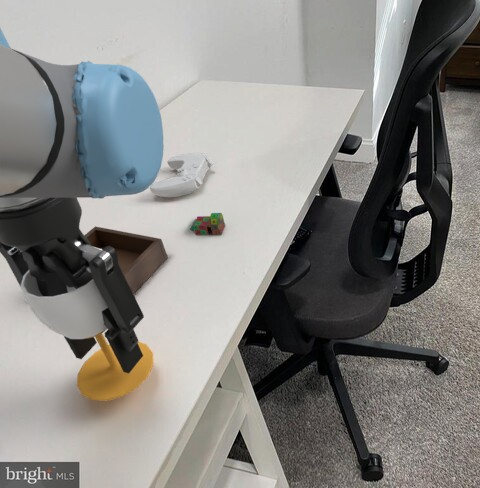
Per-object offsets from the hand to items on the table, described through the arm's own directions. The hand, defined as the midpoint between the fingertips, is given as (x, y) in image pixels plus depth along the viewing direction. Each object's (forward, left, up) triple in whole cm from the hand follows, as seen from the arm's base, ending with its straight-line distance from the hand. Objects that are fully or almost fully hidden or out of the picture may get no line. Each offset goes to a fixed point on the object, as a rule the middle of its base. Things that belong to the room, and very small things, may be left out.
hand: (109, 356), depth 58 cm
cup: (0, 0, -3) cm, 3 cm away
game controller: (+45, +20, -6) cm, 50 cm away
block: (+32, +7, -6) cm, 34 cm away
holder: (+16, +16, -5) cm, 24 cm away
